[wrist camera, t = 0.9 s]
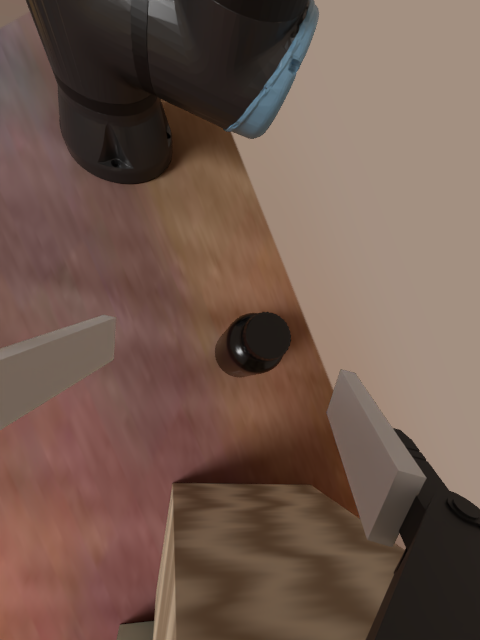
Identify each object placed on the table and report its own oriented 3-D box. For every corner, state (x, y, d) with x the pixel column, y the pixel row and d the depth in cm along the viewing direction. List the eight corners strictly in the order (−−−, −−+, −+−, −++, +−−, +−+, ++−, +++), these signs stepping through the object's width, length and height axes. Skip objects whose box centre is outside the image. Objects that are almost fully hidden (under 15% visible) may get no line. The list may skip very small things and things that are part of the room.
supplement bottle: (269, 348, 36) (313, 331, 25) (242, 387, 34) (278, 387, 23) (232, 319, 36) (261, 289, 25) (203, 356, 34) (220, 341, 22)
